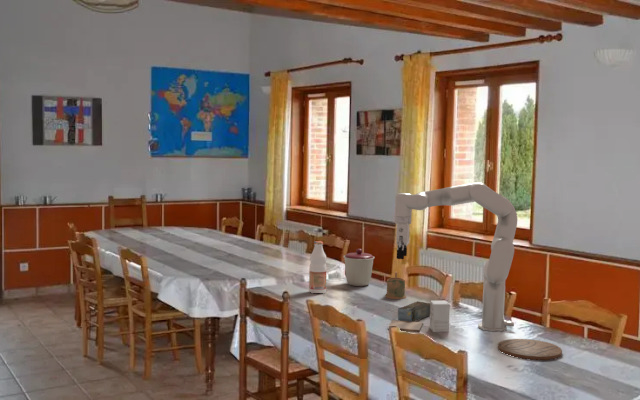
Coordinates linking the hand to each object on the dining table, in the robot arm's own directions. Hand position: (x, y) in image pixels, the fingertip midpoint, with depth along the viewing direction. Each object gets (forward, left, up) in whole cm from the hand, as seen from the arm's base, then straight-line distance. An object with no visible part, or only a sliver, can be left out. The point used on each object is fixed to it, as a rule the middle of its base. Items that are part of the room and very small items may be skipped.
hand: (401, 257), depth 329 cm
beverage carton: (-5, -12, -31) cm, 33 cm away
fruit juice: (+52, -51, -31) cm, 79 cm away
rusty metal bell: (+10, -58, -31) cm, 66 cm away
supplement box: (-19, +7, -31) cm, 37 cm away
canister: (+35, -80, -31) cm, 93 cm away
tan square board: (-4, +7, -31) cm, 32 cm away
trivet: (-57, +28, -31) cm, 70 cm away
